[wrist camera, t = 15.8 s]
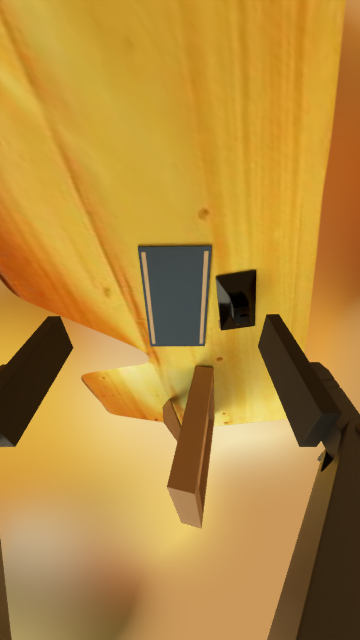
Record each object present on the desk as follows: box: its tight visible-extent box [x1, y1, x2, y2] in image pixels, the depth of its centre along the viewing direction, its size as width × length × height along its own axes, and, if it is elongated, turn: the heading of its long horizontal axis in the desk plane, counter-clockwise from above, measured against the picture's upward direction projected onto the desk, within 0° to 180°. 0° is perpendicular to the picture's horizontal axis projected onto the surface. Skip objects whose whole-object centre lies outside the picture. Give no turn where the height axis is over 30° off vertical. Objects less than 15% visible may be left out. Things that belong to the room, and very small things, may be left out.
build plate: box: [216, 270, 256, 330], centre depth 40 cm, size 12×7×5 cm, turn 10°
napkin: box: [138, 246, 212, 346], centre depth 42 cm, size 22×12×1 cm, turn 1°
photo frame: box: [163, 366, 215, 528], centre depth 49 cm, size 15×22×25 cm
